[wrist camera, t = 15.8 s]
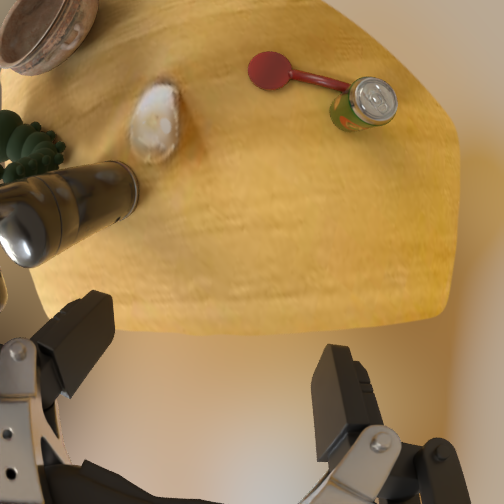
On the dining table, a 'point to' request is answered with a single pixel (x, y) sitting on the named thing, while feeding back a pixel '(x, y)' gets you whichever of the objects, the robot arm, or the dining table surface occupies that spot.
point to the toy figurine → (26, 148)
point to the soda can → (364, 105)
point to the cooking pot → (44, 33)
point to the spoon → (284, 73)
